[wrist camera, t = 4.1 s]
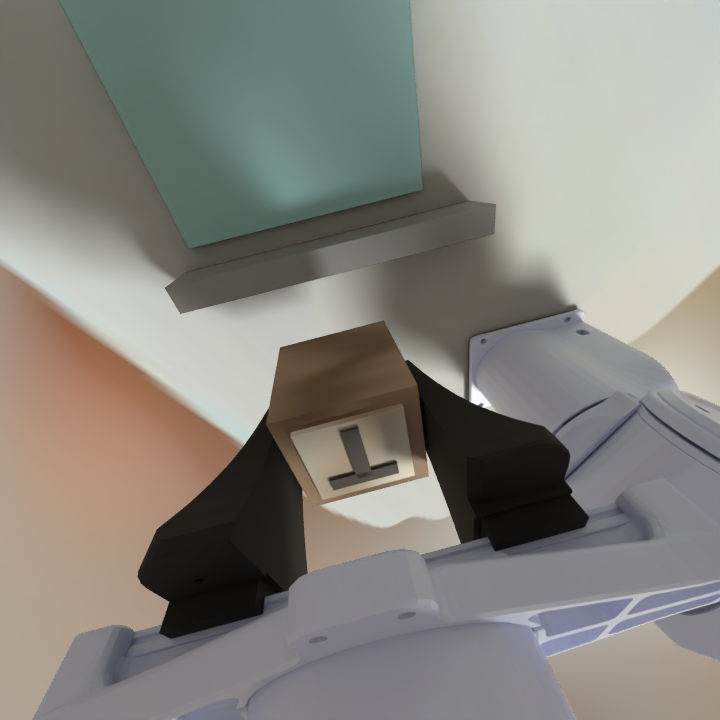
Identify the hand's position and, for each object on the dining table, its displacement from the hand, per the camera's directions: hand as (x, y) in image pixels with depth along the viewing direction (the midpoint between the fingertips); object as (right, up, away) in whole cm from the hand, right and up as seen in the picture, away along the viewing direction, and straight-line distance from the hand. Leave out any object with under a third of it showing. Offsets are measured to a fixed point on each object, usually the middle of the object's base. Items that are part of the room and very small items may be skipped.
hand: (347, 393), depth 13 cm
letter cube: (0, +1, +1) cm, 1 cm away
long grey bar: (-1, +9, +4) cm, 10 cm away
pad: (-4, +15, 0) cm, 15 cm away
